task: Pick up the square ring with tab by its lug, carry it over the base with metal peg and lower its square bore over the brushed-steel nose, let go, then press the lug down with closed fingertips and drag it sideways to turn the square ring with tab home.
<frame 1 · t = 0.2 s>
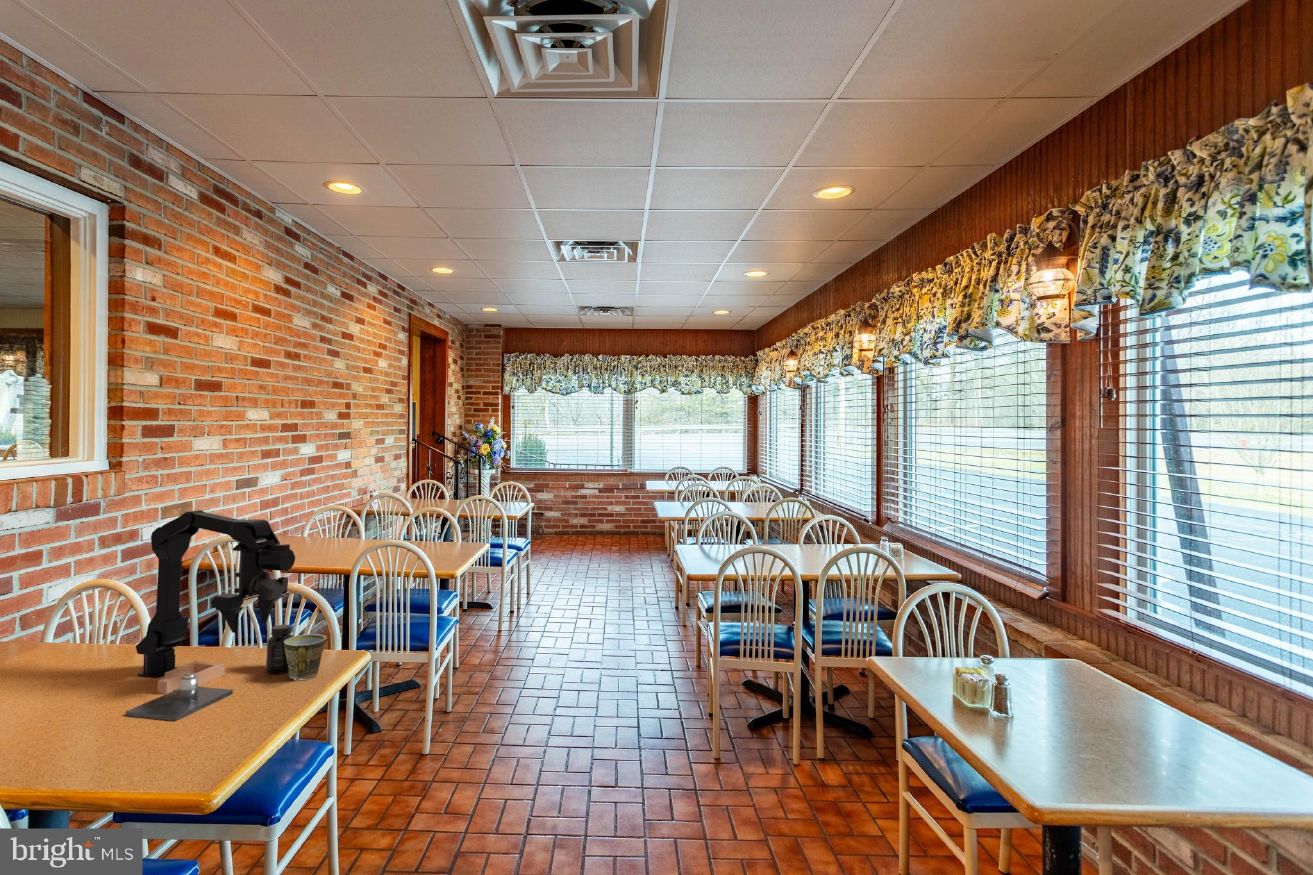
hand: (249, 627, 167), 14 cm above the table, tool pointing down, fingers open, 9 cm apart
supplement bottle: (280, 670, 176), on the table
square ring with tab: (194, 679, 168), on the table
base with metal peg: (188, 700, 154), on the table
ceramic cup: (303, 679, 171), on the table
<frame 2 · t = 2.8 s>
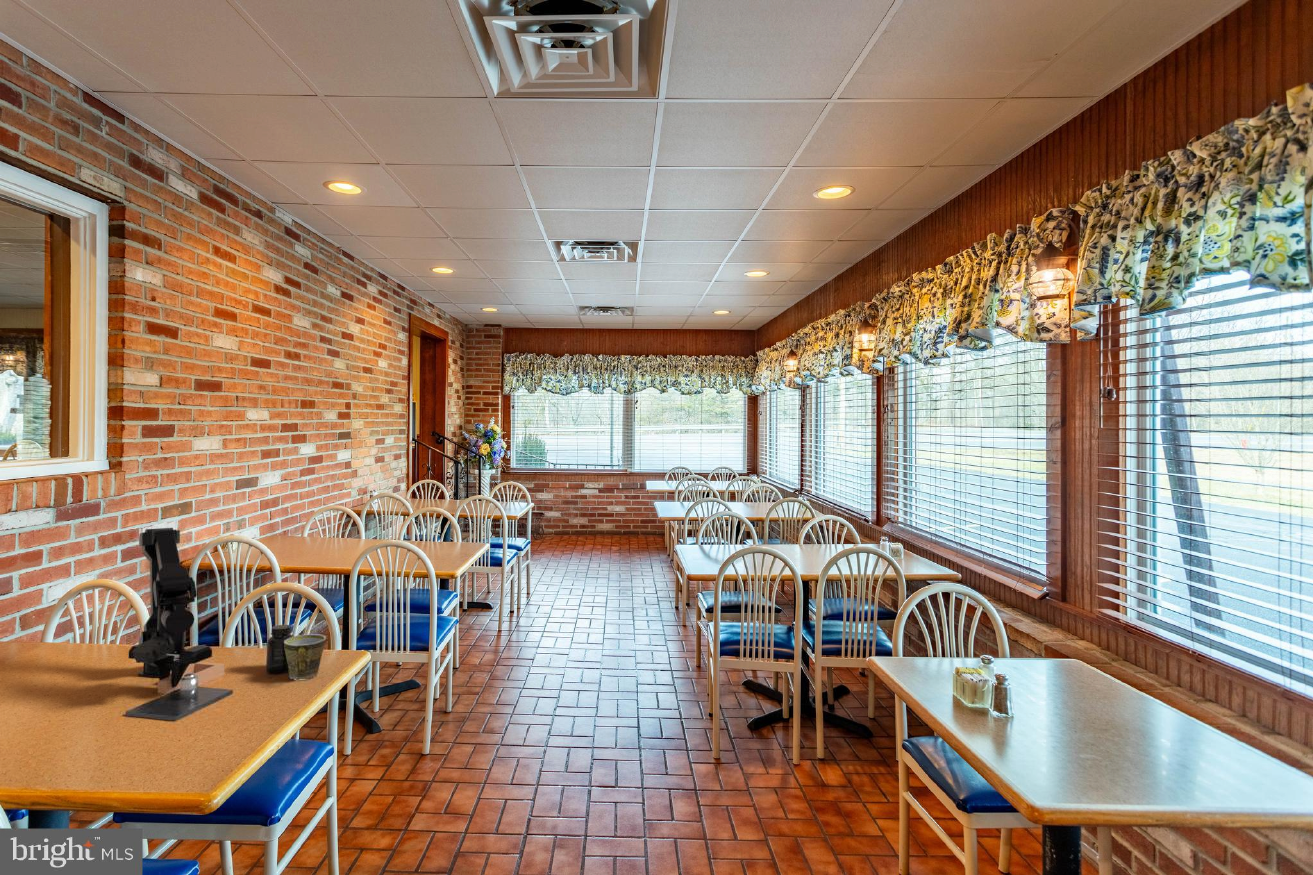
hand: (169, 686, 160), 1 cm above the table, tool pointing down, fingers closed on square ring with tab, 2 cm apart
square ring with tab: (194, 679, 168), on the table, touching gripper
everything else where it was.
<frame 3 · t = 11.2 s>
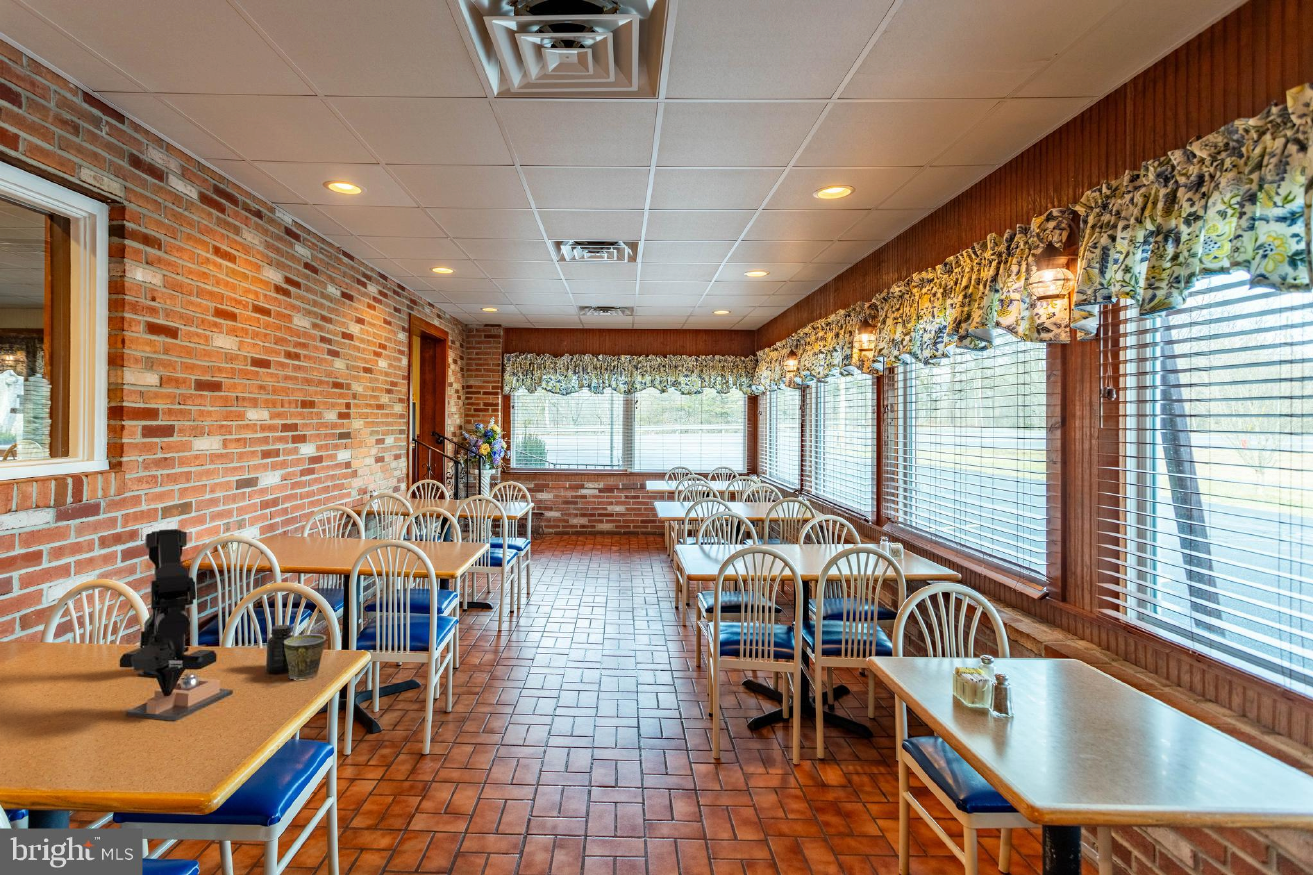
hand: (167, 695, 147), 4 cm above the table, tool pointing down, fingers closed
square ring with tab: (187, 697, 154), point 1 cm above the table, touching gripper, base with metal peg
everything else where it was.
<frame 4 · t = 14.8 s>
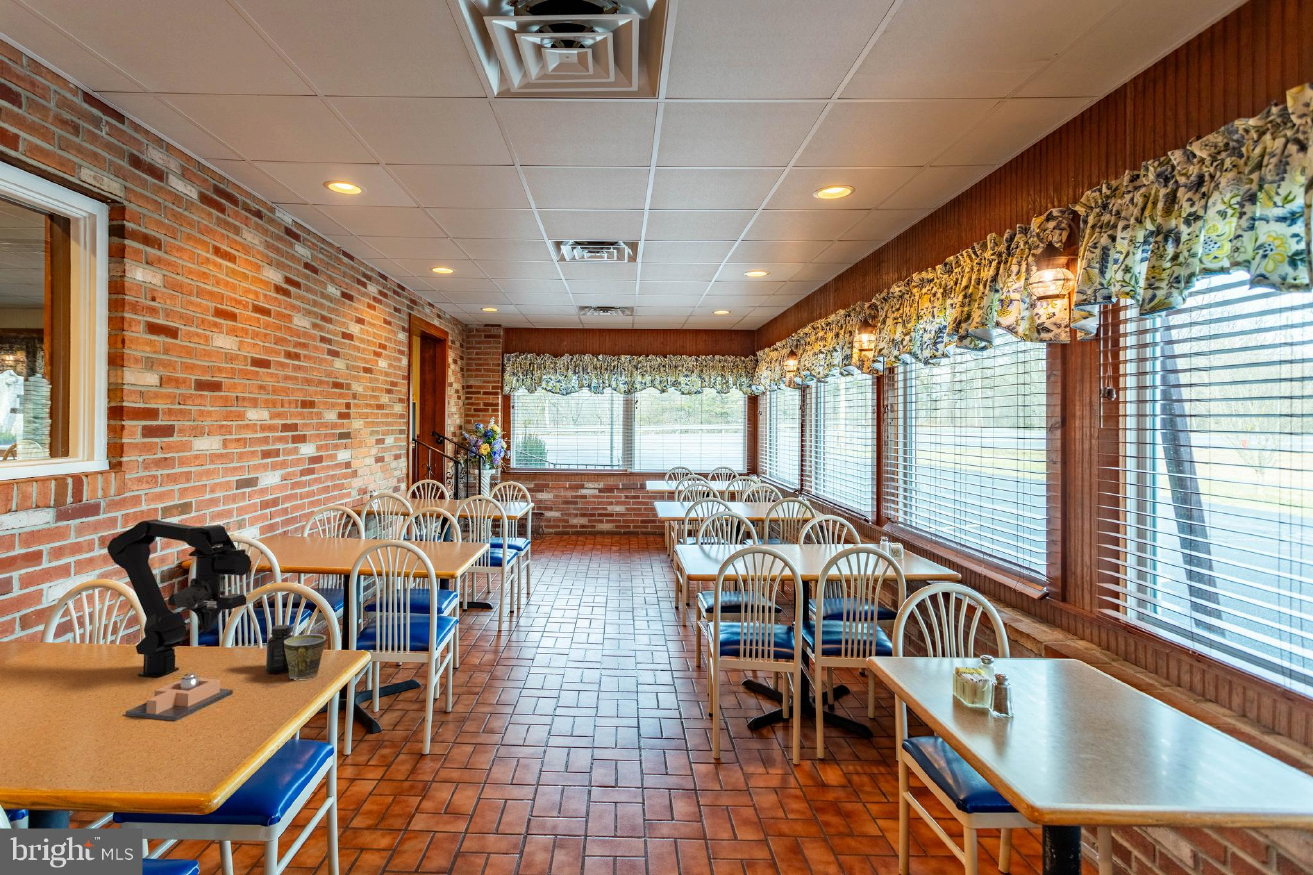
hand: (206, 632, 170), 12 cm above the table, tool pointing down, fingers closed
square ring with tab: (187, 697, 154), point 1 cm above the table, touching base with metal peg
everything else where it was.
at the end: square ring with tab 0.4 cm from the base with metal peg (horizontally); square ring with tab point 1.0 cm above the table; the gripper is holding nothing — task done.
